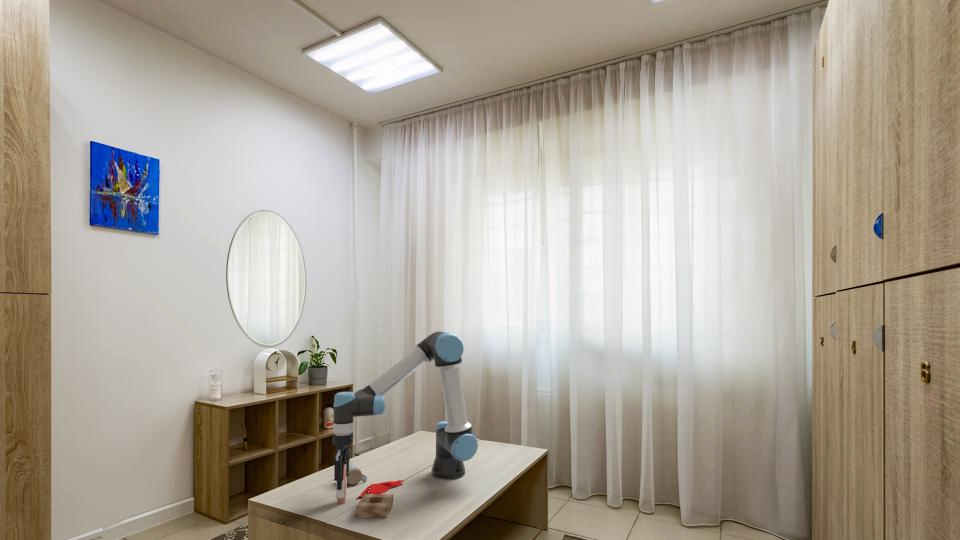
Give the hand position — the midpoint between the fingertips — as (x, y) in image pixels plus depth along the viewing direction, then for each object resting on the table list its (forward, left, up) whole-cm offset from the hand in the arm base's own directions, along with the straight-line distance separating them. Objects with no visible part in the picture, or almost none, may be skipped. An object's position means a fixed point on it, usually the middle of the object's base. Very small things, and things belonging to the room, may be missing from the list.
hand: (341, 495), depth 183 cm
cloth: (-12, -14, -3) cm, 19 cm away
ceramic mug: (+1, -22, -3) cm, 22 cm away
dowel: (0, 0, -3) cm, 3 cm away
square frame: (-15, +7, -3) cm, 17 cm away
